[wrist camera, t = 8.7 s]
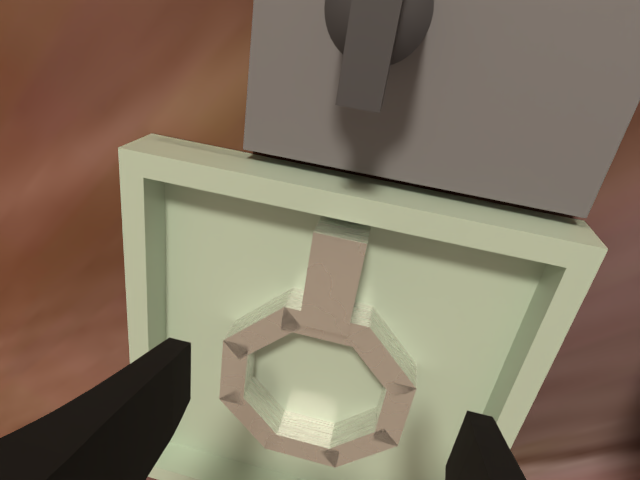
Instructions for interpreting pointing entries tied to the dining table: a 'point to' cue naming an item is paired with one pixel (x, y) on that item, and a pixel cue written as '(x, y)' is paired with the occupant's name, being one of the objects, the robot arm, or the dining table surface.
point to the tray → (374, 289)
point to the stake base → (449, 92)
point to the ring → (331, 325)
